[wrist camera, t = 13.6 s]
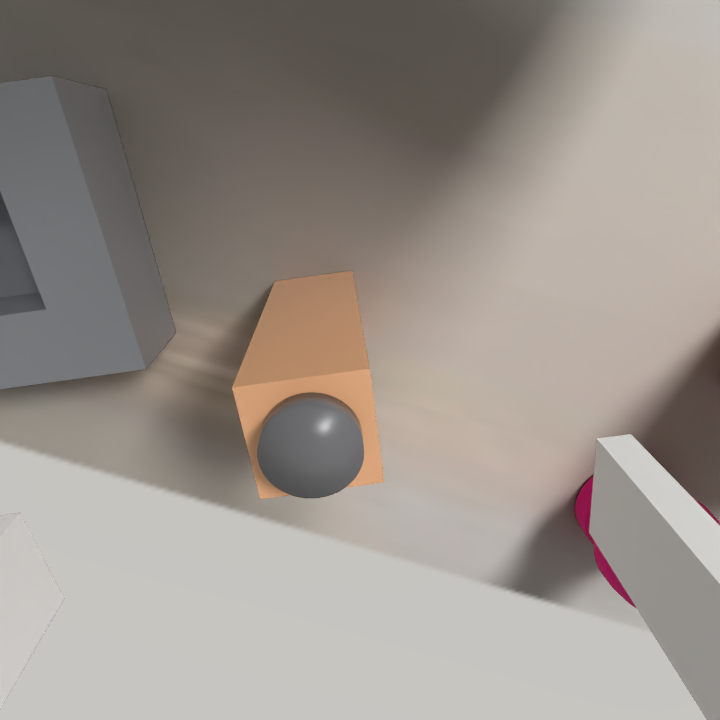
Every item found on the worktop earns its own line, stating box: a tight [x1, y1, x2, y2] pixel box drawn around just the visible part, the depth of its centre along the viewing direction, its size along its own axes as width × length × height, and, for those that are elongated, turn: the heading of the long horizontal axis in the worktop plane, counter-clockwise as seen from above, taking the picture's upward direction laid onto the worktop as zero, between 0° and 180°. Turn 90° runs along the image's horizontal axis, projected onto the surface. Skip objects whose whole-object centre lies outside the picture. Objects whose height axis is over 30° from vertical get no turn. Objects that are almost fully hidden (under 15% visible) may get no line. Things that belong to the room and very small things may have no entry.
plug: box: [232, 271, 384, 499], centre depth 22 cm, size 4×4×14 cm
